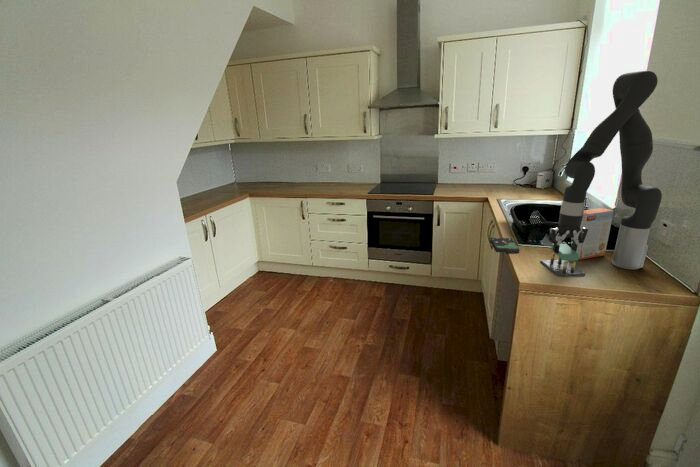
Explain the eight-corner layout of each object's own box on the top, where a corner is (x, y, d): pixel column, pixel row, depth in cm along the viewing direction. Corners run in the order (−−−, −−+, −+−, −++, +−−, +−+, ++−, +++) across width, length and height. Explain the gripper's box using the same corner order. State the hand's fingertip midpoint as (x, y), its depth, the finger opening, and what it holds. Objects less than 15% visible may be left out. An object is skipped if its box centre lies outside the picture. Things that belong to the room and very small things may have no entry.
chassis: (564, 261, 145) (566, 250, 144) (584, 276, 132) (587, 264, 131) (540, 262, 146) (542, 251, 144) (558, 276, 133) (560, 264, 131)
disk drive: (489, 242, 172) (495, 253, 158) (489, 237, 171) (496, 247, 158) (511, 243, 170) (519, 253, 157) (511, 237, 170) (520, 248, 156)
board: (577, 260, 131) (578, 254, 130) (562, 260, 132) (563, 254, 131) (565, 249, 142) (566, 243, 141) (551, 248, 143) (551, 243, 142)
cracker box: (592, 251, 155) (601, 207, 148) (605, 256, 149) (615, 210, 143) (567, 255, 152) (576, 210, 145) (579, 260, 146) (588, 213, 140)
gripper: (558, 215, 128) (551, 256, 133) (597, 214, 127) (588, 255, 133) (547, 210, 135) (541, 249, 140) (584, 209, 135) (576, 249, 140)
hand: (564, 252), depth 137 cm, fingers closed on board, 6 cm apart
